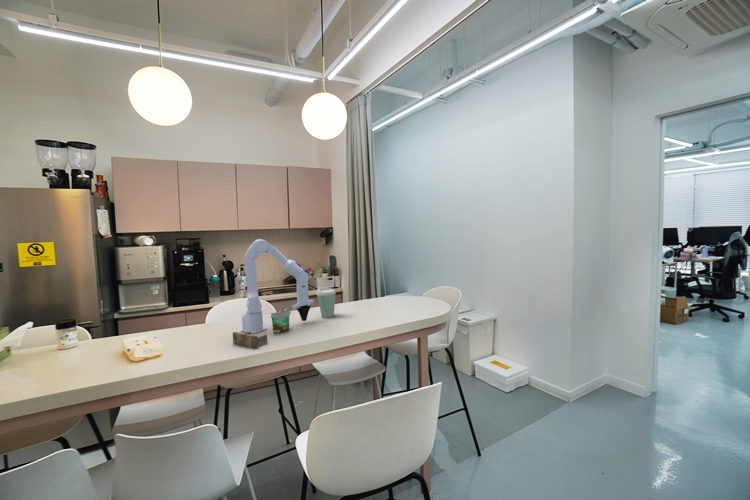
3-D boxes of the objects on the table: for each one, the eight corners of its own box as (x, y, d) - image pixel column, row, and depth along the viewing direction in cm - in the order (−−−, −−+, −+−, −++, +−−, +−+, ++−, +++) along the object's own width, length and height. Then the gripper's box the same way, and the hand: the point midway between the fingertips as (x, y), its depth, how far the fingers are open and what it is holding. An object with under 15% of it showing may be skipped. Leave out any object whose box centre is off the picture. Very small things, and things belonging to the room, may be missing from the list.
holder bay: (233, 344, 141) (232, 332, 141) (247, 338, 147) (246, 327, 147) (256, 348, 134) (255, 336, 134) (269, 343, 140) (269, 331, 140)
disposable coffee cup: (341, 315, 183) (339, 288, 182) (328, 320, 174) (326, 291, 173) (326, 313, 188) (325, 287, 187) (313, 317, 179) (311, 290, 178)
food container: (284, 335, 151) (283, 313, 150) (271, 335, 152) (270, 313, 151) (296, 327, 163) (294, 307, 162) (284, 327, 164) (283, 307, 163)
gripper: (298, 297, 160) (300, 325, 161) (318, 292, 173) (319, 317, 174) (288, 296, 164) (289, 323, 165) (307, 291, 176) (308, 316, 177)
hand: (304, 320), depth 169 cm, fingers closed
